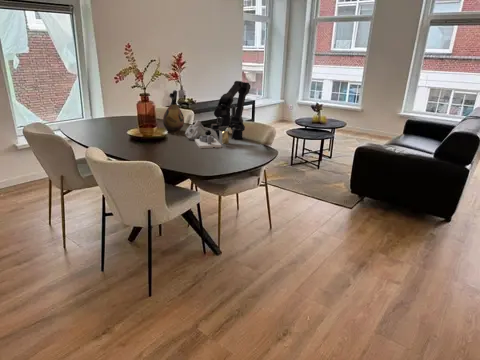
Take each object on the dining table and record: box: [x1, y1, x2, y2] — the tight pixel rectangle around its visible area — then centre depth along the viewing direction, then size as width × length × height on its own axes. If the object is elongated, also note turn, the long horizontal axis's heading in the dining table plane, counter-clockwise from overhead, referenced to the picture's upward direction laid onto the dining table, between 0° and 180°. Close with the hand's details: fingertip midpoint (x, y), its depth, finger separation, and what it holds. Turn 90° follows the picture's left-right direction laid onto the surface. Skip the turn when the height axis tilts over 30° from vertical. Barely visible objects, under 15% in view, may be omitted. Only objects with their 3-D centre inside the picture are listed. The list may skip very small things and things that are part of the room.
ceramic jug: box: [162, 89, 185, 134], centre depth 252 cm, size 17×15×30 cm
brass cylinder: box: [221, 130, 230, 145], centre depth 227 cm, size 4×4×8 cm
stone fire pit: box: [194, 134, 222, 149], centre depth 224 cm, size 14×18×6 cm
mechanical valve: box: [184, 119, 212, 141], centre depth 242 cm, size 10×18×15 cm
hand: (225, 139), depth 228 cm, fingers open, 9 cm apart
